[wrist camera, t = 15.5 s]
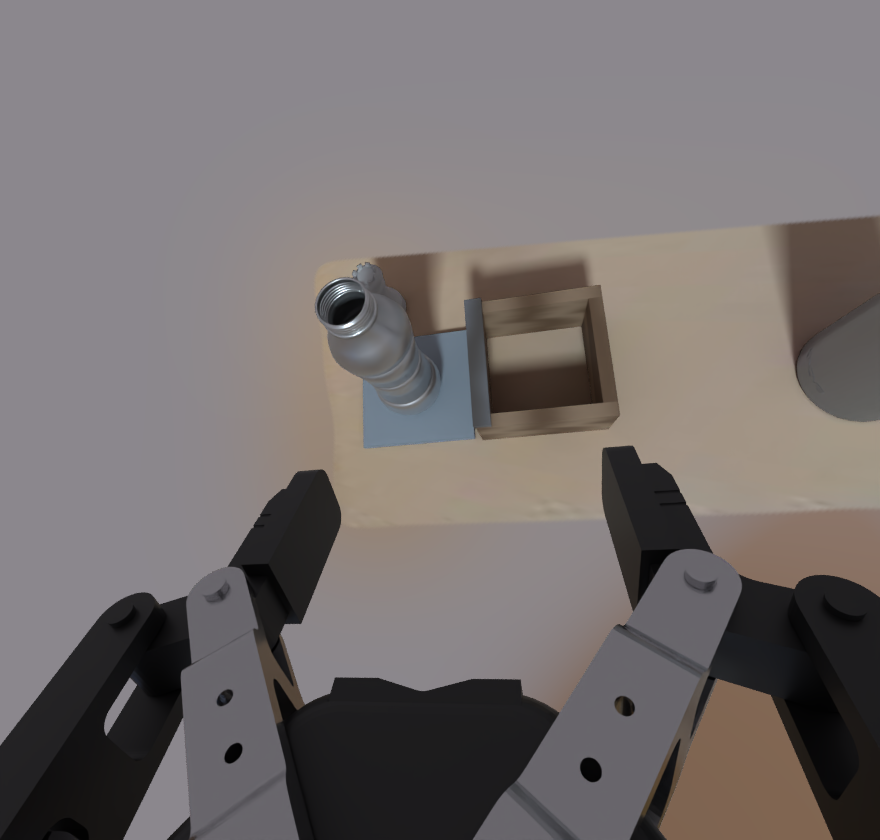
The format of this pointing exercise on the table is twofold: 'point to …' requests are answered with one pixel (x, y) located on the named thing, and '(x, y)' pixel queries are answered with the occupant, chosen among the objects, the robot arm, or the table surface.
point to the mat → (445, 414)
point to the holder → (535, 317)
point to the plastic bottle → (377, 345)
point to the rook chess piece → (376, 282)
